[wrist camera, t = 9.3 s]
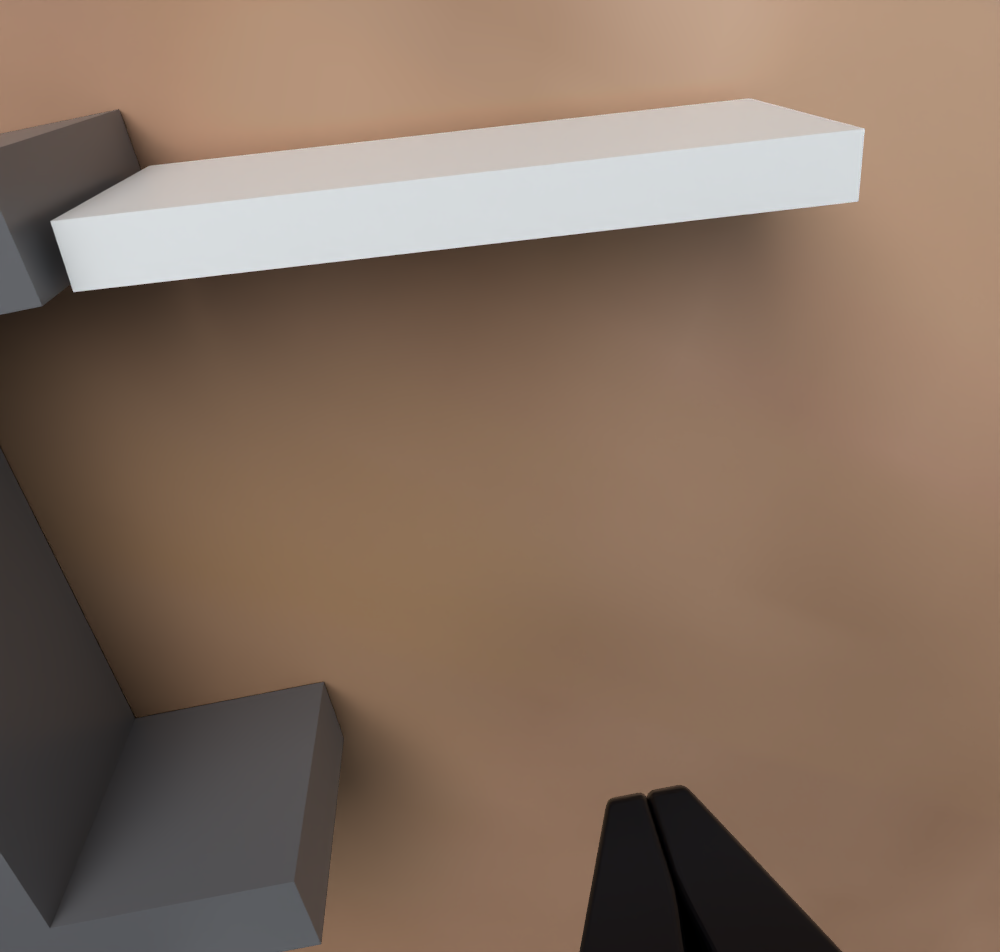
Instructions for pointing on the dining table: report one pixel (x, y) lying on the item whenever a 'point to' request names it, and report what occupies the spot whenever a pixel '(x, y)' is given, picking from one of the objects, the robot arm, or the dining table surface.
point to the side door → (457, 191)
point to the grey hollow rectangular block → (108, 718)
